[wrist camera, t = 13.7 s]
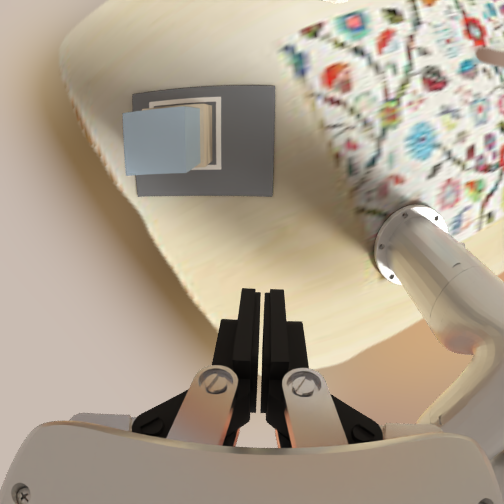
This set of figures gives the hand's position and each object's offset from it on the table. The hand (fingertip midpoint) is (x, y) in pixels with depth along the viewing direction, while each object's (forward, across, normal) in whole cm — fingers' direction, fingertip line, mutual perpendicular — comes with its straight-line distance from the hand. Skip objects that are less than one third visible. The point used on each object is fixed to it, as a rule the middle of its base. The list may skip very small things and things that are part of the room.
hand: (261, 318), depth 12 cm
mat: (+27, +8, -5) cm, 29 cm away
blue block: (+22, +10, -6) cm, 25 cm away
